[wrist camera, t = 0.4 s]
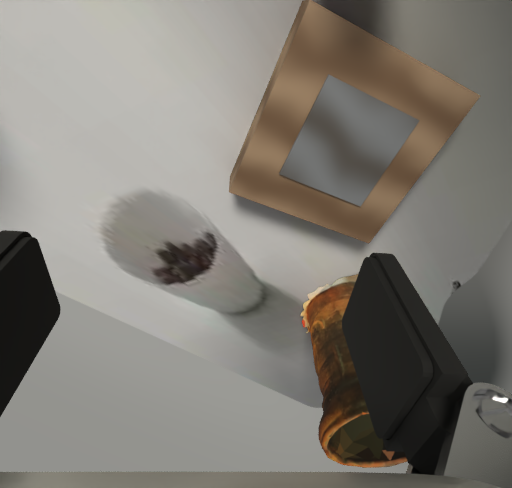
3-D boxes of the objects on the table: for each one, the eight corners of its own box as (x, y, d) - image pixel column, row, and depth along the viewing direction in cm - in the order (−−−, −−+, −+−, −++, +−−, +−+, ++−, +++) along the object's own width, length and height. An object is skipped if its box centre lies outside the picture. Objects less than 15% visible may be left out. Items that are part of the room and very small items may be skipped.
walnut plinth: (302, 0, 29) (311, -1, 26) (457, 87, 34) (482, 96, 30) (230, 176, 39) (229, 193, 35) (359, 225, 43) (369, 244, 40)
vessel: (280, 290, 49) (306, 429, 33) (375, 260, 47) (453, 392, 31) (307, 346, 57) (337, 480, 41) (389, 322, 55) (456, 454, 39)
